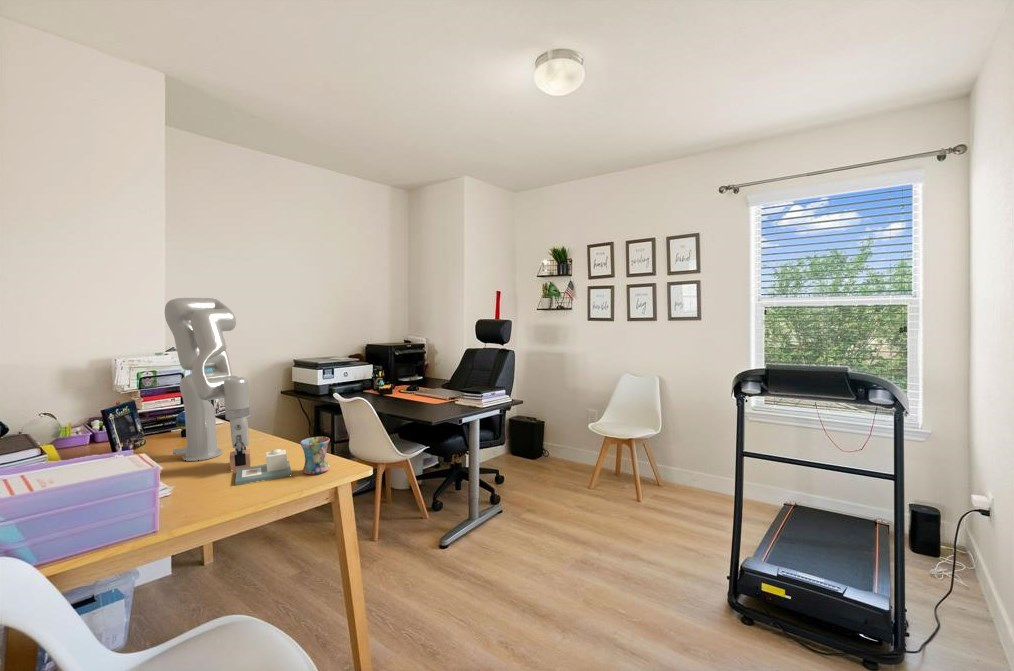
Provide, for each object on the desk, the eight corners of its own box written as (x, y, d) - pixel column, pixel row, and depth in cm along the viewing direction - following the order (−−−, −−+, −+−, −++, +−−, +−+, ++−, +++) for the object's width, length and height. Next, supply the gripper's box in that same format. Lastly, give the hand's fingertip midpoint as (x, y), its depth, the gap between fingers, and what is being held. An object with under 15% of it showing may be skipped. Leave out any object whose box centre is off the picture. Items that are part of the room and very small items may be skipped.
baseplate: (235, 485, 148) (234, 462, 147) (236, 472, 160) (235, 451, 160) (291, 475, 155) (290, 454, 155) (288, 464, 168) (287, 444, 167)
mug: (297, 471, 160) (295, 440, 159) (324, 465, 166) (323, 435, 165) (310, 480, 151) (309, 447, 150) (339, 473, 157) (337, 441, 156)
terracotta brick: (230, 470, 162) (229, 456, 162) (231, 465, 167) (230, 451, 167) (250, 467, 165) (249, 453, 164) (250, 462, 170) (249, 449, 170)
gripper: (249, 416, 159) (253, 466, 160) (250, 407, 174) (253, 453, 175) (223, 419, 155) (227, 470, 156) (226, 410, 171) (229, 457, 172)
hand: (240, 461), depth 166 cm, fingers open, 9 cm apart
